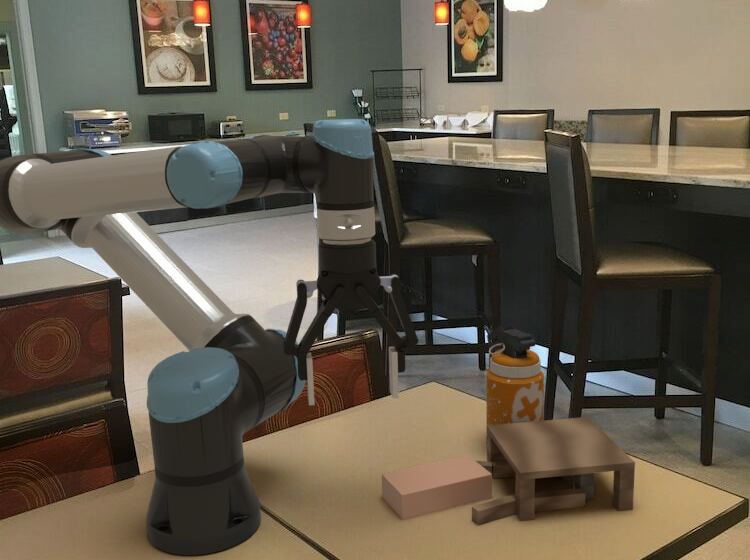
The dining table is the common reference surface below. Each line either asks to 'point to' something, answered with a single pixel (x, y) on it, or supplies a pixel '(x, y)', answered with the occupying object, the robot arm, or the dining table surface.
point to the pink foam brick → (436, 486)
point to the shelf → (552, 466)
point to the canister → (513, 379)
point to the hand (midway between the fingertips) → (352, 398)
